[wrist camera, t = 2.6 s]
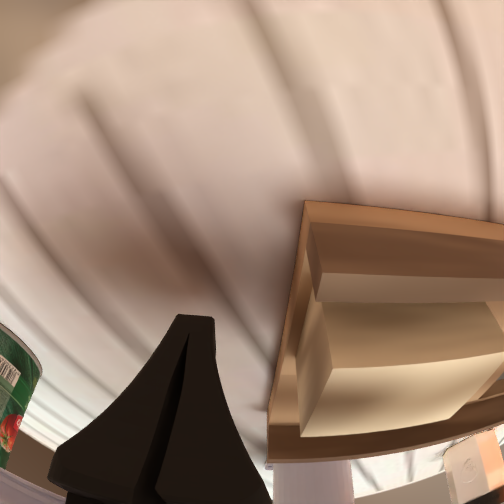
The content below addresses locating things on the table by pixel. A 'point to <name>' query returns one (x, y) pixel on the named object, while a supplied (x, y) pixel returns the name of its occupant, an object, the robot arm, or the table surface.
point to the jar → (475, 470)
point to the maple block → (391, 363)
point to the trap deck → (385, 291)
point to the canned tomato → (14, 387)
